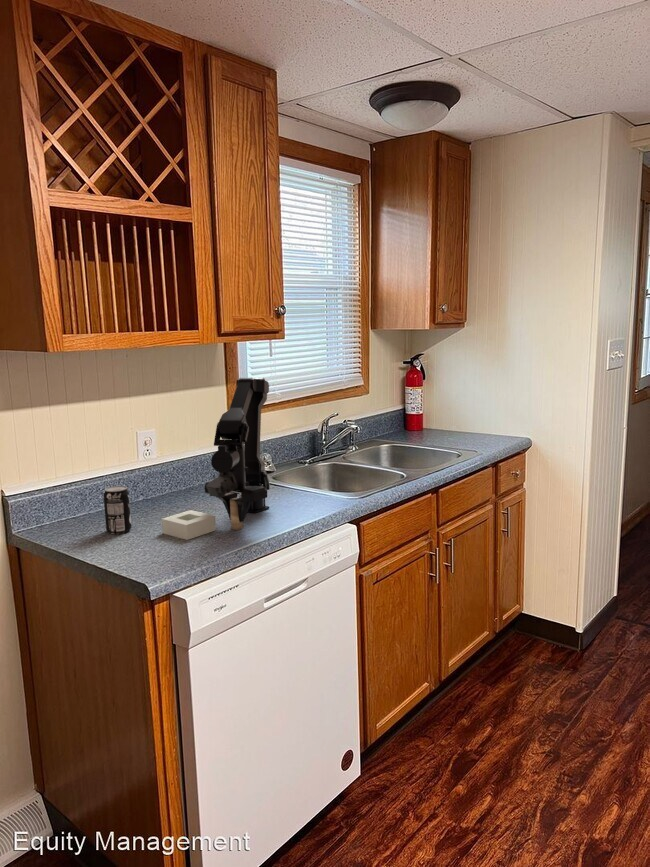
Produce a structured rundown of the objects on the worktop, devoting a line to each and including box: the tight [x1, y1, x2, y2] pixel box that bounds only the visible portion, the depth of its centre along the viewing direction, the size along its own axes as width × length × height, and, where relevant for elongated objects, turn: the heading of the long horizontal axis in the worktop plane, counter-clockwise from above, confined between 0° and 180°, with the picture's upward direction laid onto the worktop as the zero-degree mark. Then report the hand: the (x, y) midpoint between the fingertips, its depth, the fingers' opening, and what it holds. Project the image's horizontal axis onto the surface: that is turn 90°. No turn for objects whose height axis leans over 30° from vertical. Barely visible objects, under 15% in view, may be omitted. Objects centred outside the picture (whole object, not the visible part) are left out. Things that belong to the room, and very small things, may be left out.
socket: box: [161, 509, 217, 541], centre depth 179 cm, size 10×10×4 cm
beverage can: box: [103, 485, 132, 535], centre depth 180 cm, size 7×7×12 cm
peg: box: [230, 497, 244, 531], centre depth 180 cm, size 3×3×8 cm
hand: (236, 520), depth 181 cm, fingers closed on peg, 3 cm apart
